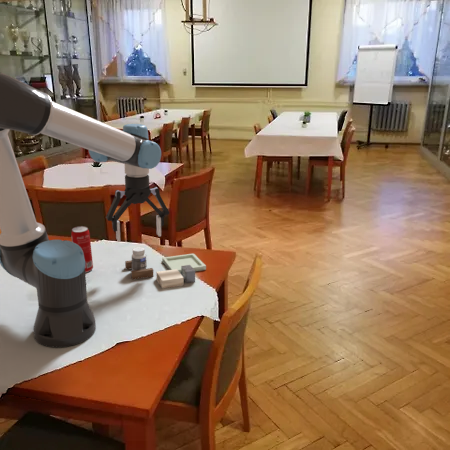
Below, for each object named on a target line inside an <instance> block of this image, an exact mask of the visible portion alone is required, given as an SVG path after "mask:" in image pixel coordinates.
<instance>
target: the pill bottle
mask: <svg viewBox="0 0 450 450" xmlns="http://www.w3.org/2000/svg"><path fill="white" fill-rule="evenodd" d="M131 260H132V269H131V271H134V270H141V269H147V267H146V266H147V255H146V251H145V248H144V247H142V246H138V247H137V246H136V247H133V249H132V254H131Z"/></svg>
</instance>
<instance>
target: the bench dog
mask: <svg viewBox="0 0 450 450" xmlns="http://www.w3.org/2000/svg"><path fill="white" fill-rule="evenodd" d="M181 275H182V276H183V278H184V282H185V283H186V284H190V283H196V271H195V270H194V269H193V268H192V267H191V265H185V266H181Z"/></svg>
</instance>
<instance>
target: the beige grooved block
mask: <svg viewBox="0 0 450 450" xmlns="http://www.w3.org/2000/svg"><path fill="white" fill-rule="evenodd" d="M155 275H156V281H157V282H158V284H159V286H160V287H161V289H169V288H174V287H181V286H182V287H183V286H184V282H185V281H184V278H183V276H182V275H181V274H180V272H179V271H178V270H177V269H174V270H169V269H167V270H161V271H160V270H159V271H156V274H155Z"/></svg>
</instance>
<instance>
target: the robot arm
mask: <svg viewBox="0 0 450 450" xmlns="http://www.w3.org/2000/svg"><path fill="white" fill-rule="evenodd" d="M10 130H11V131H16V132H21V133H25V134H28V135H31V136H38V135H40V134H41V135H45V136H48V137H51V138H53V139H56V140H59V141H62V142H65V143H68V144H71V145H74V146H75V147H80V148H83V149H85V150H88V154H89V156H90V158H91V159H92V160H93V161H94V162H96V163H106V162H115V163H120V164H124V174H125V175H124V187H125V188H124V190H119V189H116V190H115V191H114V197H113V200H112V203H111V205H110V206H109V209H108V211H107V213H106V215H105V219H106V220H107V221H108V222H111V224H112V230H113V232H115V238H116V240H117V242H119V243H120V242H121V223H120V221H119V219H120V218H121V217H122V215H123V214H124V213H125V211H126V210H127V209H128V207H130V206H131V205H132V204H134V205H137V204H144V203H145V202H146V203H147V204H148V205H149V206H150V207H151V208H152V209H153V210H154V211H155V212H156V213H157V214H158V215H157V214H156V217H155V218H156V235H157V236H158V237H162V227H163V226H164V224H165V220H164V219H165V218H166V217H165V216H168V215H170V211H169V210H168V207H167V206H166V203H165V202H164V200H163V198H162V196H161V193H160V188H158V187H157V186H154V187H153V188H150V176H149V173H150V170H152V169H154V168H156V167H157V166H158V165H159V164H160V162H161V158H162V150H161V147H160V145H159V144H158V143H156V142H155V141H152V140H149V132H148V127H147V125H145V124H142V123H127V124H124V125H123V126H122V130H121V129H119V128H116V127H114V126H111V125H110V124H108V123H105V122H103V121H100V120H98V119H96V118H93V117H90V116H88V115H86V114H83V113H81V112H78V111H76V110H74V109H72V108H70V107H67V106H65V105H62V104H59V103H57V102H56V101H52V98H51V97H50V95H49V94H48V93H46V92H43V91H41V90H40V89H37V88H35V87H33V86H31V85H29V84H28V83H25V82H24V81H20V80H19V79H16V78H14V77H13V76H10V75H9V74H6V73H3V72H0V232H1V233H0V266H1V267H2V268H3V270H4V271H5V272H6V273H7V274H9V275H11V276H12V277H14V278H17V279H19V280H21V281H23V282H24V283H26V284H28V285H30V286H32V287H34V289H36V295H37V302H38V303H37V304H38V305H37V306H38V308H37V312H36V316H35V320H34V324H33V338H34V340H35V341H36V342H37V343H38V344H39V345H42V346H45V347H49V348H66V347H71V346H75V345H78V344H80V343H83V342H85V341H86V340H88V339H90V338H91V337H92V336H93V335H94V333H95V332H96V328H97V326H96V325H97V324H96V317H95V316H94V313H93V311H92V309H91V307H90V304H89V303H88V296H87V279H86V276H87V275H86V272H85V259H84V253H83V250H82V249H81V247H80V246H79V245H77V244H76V243H74V242H72V240H66V239H65V240H63V239H49V235H48V233H47V230H46V227H45V225H44V224H42V223H40V222H38V221H37V219H36V215H35V213H34V210H33V207H32V203H31V201H30V197H29V195H28V192H27V190H26V185H25V183H24V180H23V176H22V174H21V170H20V168H19V164H18V161H17V158H16V155H15V152H14V150H13V147H12V144H11V140H10V138H9V132H10ZM151 194H152V195H153V196H154V197H155V199H156V201H157V202H158V204H159V205H160V208H161V209H162V210H160V208H159V207H157V205H155V203H154V202H153V200H151V199H150V198H149V197H150V195H151ZM124 196H125V197H126V198H125V199H124V201H123V203H122V204H121V205H120V207H118V206H119V204H120V202H121V199H122V198H123V197H124ZM117 208H118V209H117Z"/></svg>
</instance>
